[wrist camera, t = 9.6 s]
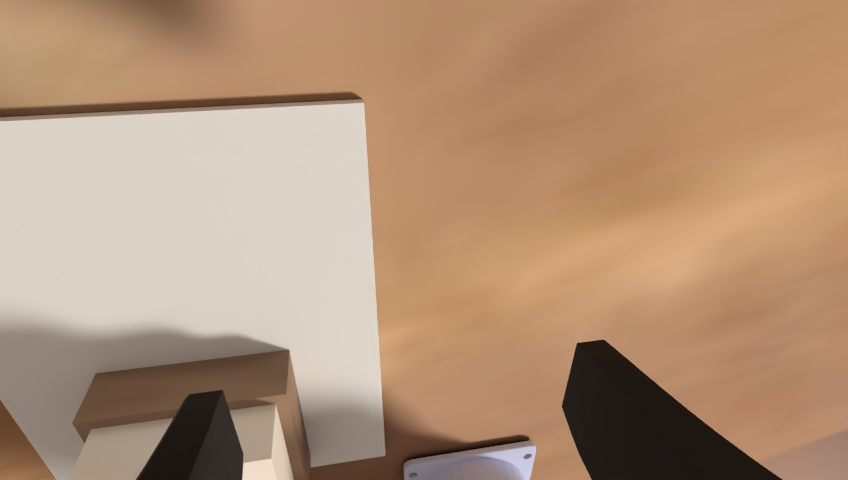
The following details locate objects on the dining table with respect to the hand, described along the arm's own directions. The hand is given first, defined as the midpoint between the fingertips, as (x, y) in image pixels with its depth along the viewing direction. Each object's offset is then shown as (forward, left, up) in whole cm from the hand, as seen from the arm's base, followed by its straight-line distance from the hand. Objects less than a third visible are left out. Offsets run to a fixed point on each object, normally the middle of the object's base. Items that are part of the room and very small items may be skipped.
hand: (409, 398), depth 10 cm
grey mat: (-7, +8, -10) cm, 15 cm away
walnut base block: (-12, +8, -10) cm, 18 cm away
